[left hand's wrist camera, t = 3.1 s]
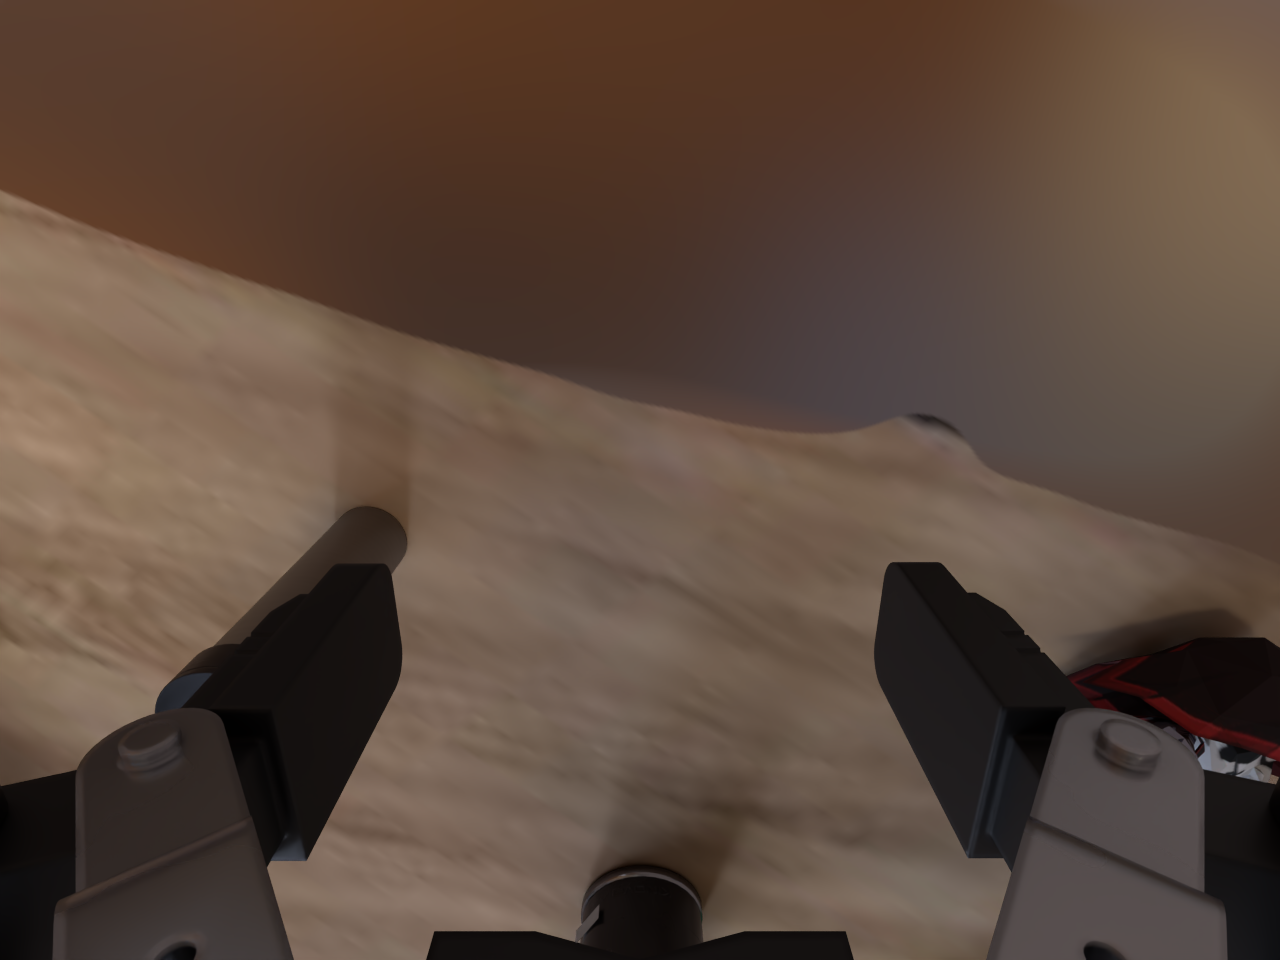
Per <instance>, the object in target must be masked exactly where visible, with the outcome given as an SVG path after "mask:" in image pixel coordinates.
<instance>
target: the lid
mask: <svg viewBox="0 0 1280 960" xmlns="http://www.w3.org/2000/svg"><path fill="white" fill-rule="evenodd" d="M239 645H240V644H222V645H217V646H214V647H211V648H208V649H206V650H204V651H202V652H201V653H199V654H198V655H197V656H196V657H195V658H193V659H192V660H191V661H190V662H189V663H188V664H187V665H186V666H185V667H184V668H183V669H182V670H181V671H180V672H179V673H178V674H177V675H176V676H175V677H174V678H173V679H172V680H171V681H170V682H169V683H168V684H167V685H166V686H165V687H164V689H163V690H162V691H161V693H160V695H159V697H158V699H157V702H156V706H155V713H159V712H163V711H167V710H172V709H180V708H181V707H182V706H183V705H184V704H185V703H186V702H187V701H188V700H189V698H190V697H191V696H192V695H193V694H194V693H195V692H196V691H197V690H198V689H199V688H200V687H201V686H202V684H203V683H204V682H205V681H206V680H207V679H208V678H209V677H210V676H211V675H212V674H213V673H214V672H215V671H216V669H217V668H218V667H219V666H220V665H221V664H222V663H223V662H224V661H225V660H226V659H227V658H228V657H229V655H230V654H234V653H235V649H236V648H237V647H238V646H239Z"/></svg>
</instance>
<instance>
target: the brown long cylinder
mask: <svg viewBox="0 0 1280 960" xmlns="http://www.w3.org/2000/svg"><path fill="white" fill-rule="evenodd" d="M406 548H407V539H406V535H405V532H404V530H403V528H402V526H401V525H400V523H399V522H398V521H397V520H396V519H395V518H394V517H393V516H391V515H390V514H389V513H387V512H385V511H383V510H380V509H377V508H372V507H359V508H355V509H352V510H350V511H348V512H346V513H345V514H344V515H343V516H342V517H341V518H340V519H339V520H338V521H337V522H336V523H335V524H334V525H333V526H332V527H331V528H330V529H329V530H328V531H327V532H326V533H325V534H324V535H323V536H322V537H321V538H320V539H319V540H318V541H317V542H316V543H315V544H314V545H313V546H312V547H311V548H310V549H309V550H308V551H307V552H306V553H305V554H304V555H303V556H302V557H301V558H300V559H299V560H298V561H297V562H296V563H295V564H294V565H293V566H292V567H291V568H290V569H289V570H288V571H287V572H286V573H285V574H284V575H283V576H282V577H281V578H280V579H279V580H278V581H277V582H276V583H275V584H274V585H273V586H272V587H271V589H270V590H269V591H268V592H267V593H266V594H265V595H264V596H263V597H262V598H261V599H260V600H259V601H258V602H257V603H256V604H255V605H254V606H253V607H252V608H251V609H250V610H249V611H248V612H247V613H246V614H245V615H244V616H243V617H242V618H241V619H240V620H239V621H238V622H237V623H236V624H235V625H234V626H233V627H232V628H231V629H230V630H229V631H228V632H227V633H226V634H225V635H224V636H223V637H222V638H221V639H220V640H219V641H218V642H217V643H216V644H215V645H214V646H217V645H222V644H241V643H242V641H243V640H244V639H245V638H246V637H250V636H251V632H252V631H253V630H254V629H255V627H256V626H257V625H258V624H259V623H260V622H261V621H262V620H263V619H264V618H265V617H266V616H267V615H268V614H269V612H270V611H272V610H274V609H276V608H277V607H279V606H281V605H282V604H284V603H286V602H287V601H289V600H291V599H292V598H294V597H296V596H297V595H299V594H309V593H310V591H311V590H312V589H313V588H314V587H315V586H316V585H317V583H318V582H319V581H320V580H321V579H322V578H323V577H324V575H325V574H326V573H327V572H328V571H329V570H330V569H331V567H332V566H334V565H335V564H338V563H384V564H386V565H387V566H388V568H389V570H390V572H391V575H392V573H393V572H394V570H395V569H396V567H397V566H398V564H399V563H400V562H401V560H402V559H403V557H404V555H405V552H406ZM214 646H213V647H214Z"/></svg>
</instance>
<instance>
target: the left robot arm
mask: <svg viewBox="0 0 1280 960" xmlns="http://www.w3.org/2000/svg"><path fill="white" fill-rule="evenodd" d="M874 661H875V669H876V674H877V678H878V681H879V684H880V686H881V688H882V690H883V692H884V694H885V696H886V698H887V700H888V702H889V704H890V706H891V708H892V710H893V712H894V714H895V716H896V718H897V720H898V722H899V723H900V725H901V727H902V729H903V731H904V733H905V735H906V737H907V739H908V741H909V743H910V745H911V747H912V749H913V751H914V753H915V755H916V757H917V759H918V761H919V763H920V765H921V767H922V769H923V771H924V773H925V775H926V776H927V778H928V780H929V782H930V784H931V786H932V788H933V790H934V792H935V794H936V796H937V798H938V800H939V802H940V804H941V806H942V808H943V810H944V812H945V814H946V816H947V818H948V820H949V822H950V824H951V826H952V828H953V829H954V831H955V833H956V835H957V837H958V839H959V841H960V843H961V845H962V847H963V849H964V851H965V853H966V855H967V857H968V858H1004V860H1005V862H1006V863H1007V865H1008V867H1009V869H1010V870H1011V872H1012V873H1011V877H1010V880H1009V884H1008V887H1007V891H1006V894H1005V897H1004V901H1003V904H1002V908H1001V911H1000V914H999V918H998V921H997V925H996V928H995V931H994V935H993V938H992V942H991V945H990V948H989V952H988V955H987V959H986V960H1280V776H1279V779H1278V781H1277V783H1276V784H1271V783H1266V782H1261V781H1257V780H1252V779H1247V778H1243V777H1238V776H1233V775H1229V774H1224V773H1219V772H1215V771H1210V770H1205V769H1203V768H1202V766H1201V764H1200V762H1199V761H1198V759H1197V758H1196V757H1195V755H1194V754H1193V753H1192V752H1191V751H1190V750H1189V749H1188V748H1187V747H1186V746H1185V745H1184V744H1182V743H1181V742H1180V741H1179V740H1178V739H1176V738H1175V737H1173V736H1172V735H1170V734H1169V733H1167V732H1166V731H1164V730H1162V729H1160V728H1159V727H1157V726H1155V725H1153V724H1151V723H1149V722H1146V721H1144V720H1142V719H1139V718H1137V717H1134V716H1131V715H1128V714H1125V713H1121V712H1117V711H1113V710H1108V709H1100V708H1095V707H1094V706H1093V705H1092V704H1091V703H1090V702H1089V701H1088V700H1087V699H1086V697H1085V696H1084V695H1083V694H1082V693H1081V692H1080V691H1079V690H1078V689H1077V688H1076V687H1075V685H1074V684H1073V683H1072V682H1071V681H1070V680H1069V679H1068V678H1067V677H1066V676H1065V675H1064V674H1063V672H1062V671H1061V670H1060V669H1059V668H1058V667H1057V666H1056V665H1055V664H1054V663H1053V662H1052V661H1051V659H1050V658H1049V657H1048V656H1047V655H1046V654H1045V653H1041V652H1040V648H1039V646H1038V645H1037V644H1036V643H1035V642H1034V641H1033V640H1032V639H1031V638H1030V637H1029V636H1028V635H1024V630H1023V629H1022V628H1021V627H1020V626H1019V625H1018V624H1017V623H1016V621H1015V620H1014V619H1013V618H1012V617H1011V616H1010V615H1009V614H1008V613H1007V612H1006V611H1005V610H1004V609H1002V608H1000V607H999V606H997V605H995V604H994V603H992V602H990V601H989V600H987V599H985V598H984V597H982V596H980V595H979V594H977V593H967V592H966V591H965V590H964V588H963V587H962V586H961V585H960V584H959V583H958V582H957V580H956V579H955V578H954V577H953V576H952V575H951V573H950V572H949V571H948V570H947V569H946V568H945V566H944V565H942V564H941V563H939V562H892V563H890V564H889V565H888V567H887V569H886V572H885V576H884V582H883V589H882V596H881V603H880V610H879V617H878V624H877V631H876V638H875V646H874ZM401 666H402V644H401V637H400V630H399V623H398V616H397V609H396V602H395V595H394V588H393V581H392V576H391V572H390V570H389V568H388V566H387V565H386V564H384V563H338V564H335V565H334V566H332V567H331V569H330V570H329V571H328V572H327V573H326V574H325V575H324V577H323V578H322V579H321V580H320V581H319V582H318V583H317V585H316V586H315V587H314V588H313V589H312V590H311V591H310V593H309V594H299V595H297V596H296V597H294V598H292V599H291V600H289V601H287V602H286V603H284V604H282V605H281V606H279V607H277V608H276V609H274V610H272V611H270V612H269V614H268V615H267V616H266V617H265V618H264V619H263V620H262V621H261V622H260V623H259V624H258V625H257V626H256V627H255V629H254V630H253V631H252V632H251V636H250V637H246V638H245V639H244V640H243V641H242V643H241V644H240V645H239V646H238V647H237V648H236V649H235V653H234V654H230V655H229V657H228V658H227V659H226V660H225V661H224V662H223V663H222V664H221V665H220V666H219V667H218V668H217V669H216V671H215V672H214V673H213V674H212V675H211V676H210V677H209V678H208V679H207V680H206V681H205V682H204V683H203V684H202V686H201V687H200V688H199V689H198V690H197V691H196V692H195V693H194V694H193V695H192V696H191V697H190V698H189V700H188V701H187V702H186V703H185V704H184V705H183V706H182V707H181V708H180V709H172V710H167V711H163V712H159V713H155V714H152V715H149V716H146V717H143V718H141V719H138V720H136V721H134V722H131V723H129V724H127V725H125V726H123V727H121V728H120V729H118V730H116V731H114V732H113V733H111V734H110V735H108V736H107V737H105V738H104V739H102V740H101V741H100V742H99V743H98V744H96V745H95V746H94V747H93V748H92V749H91V750H90V751H89V752H88V753H87V754H86V755H85V757H84V758H83V759H82V761H81V762H80V764H79V766H78V768H77V770H74V771H70V772H66V773H61V774H56V775H52V776H47V777H42V778H38V779H33V780H28V781H24V782H19V783H14V784H10V785H5V786H0V960H294V959H293V955H292V952H291V948H290V945H289V942H288V938H287V935H286V931H285V928H284V925H283V921H282V918H281V914H280V911H279V908H278V904H277V901H276V897H275V894H274V891H273V887H272V884H271V880H270V877H269V873H268V870H267V866H268V865H269V863H270V861H307V859H308V857H309V855H310V853H311V851H312V849H313V847H314V845H315V843H316V841H317V839H318V838H319V836H320V834H321V832H322V830H323V828H324V826H325V824H326V822H327V820H328V818H329V816H330V814H331V812H332V810H333V808H334V806H335V805H336V803H337V801H338V799H339V797H340V795H341V793H342V791H343V789H344V787H345V785H346V783H347V781H348V779H349V777H350V775H351V774H352V772H353V770H354V768H355V766H356V764H357V762H358V760H359V758H360V756H361V754H362V752H363V750H364V748H365V746H366V744H367V743H368V741H369V739H370V737H371V735H372V733H373V731H374V729H375V727H376V725H377V723H378V721H379V719H380V717H381V715H382V713H383V711H384V710H385V708H386V706H387V704H388V702H389V700H390V698H391V696H392V694H393V692H394V690H395V688H396V686H397V683H398V681H399V677H400V672H401ZM581 923H582V925H581V926H580V927H579V928H578V929H577V931H576V940H575V942H573V941H569V940H566V939H562V938H558V937H555V936H551V935H547V934H543V933H540V932H536V931H434V935H433V938H432V942H431V945H430V949H429V952H428V955H427V959H426V960H854V959H853V955H852V952H851V949H850V945H849V942H848V938H847V935H846V931H744V932H740V933H737V934H733V935H729V936H725V937H722V938H718V939H714V940H711V941H707V942H703V933H702V906H701V901H700V897H699V895H698V893H697V891H696V890H695V888H694V887H693V886H692V885H691V884H690V883H689V882H688V881H687V880H686V879H684V878H683V877H681V876H680V875H678V874H676V873H674V872H671V871H669V870H666V869H662V868H658V867H651V866H632V867H626V868H621V869H618V870H615V871H612V872H610V873H608V874H606V875H604V876H602V877H601V878H599V879H598V880H597V881H596V882H594V883H593V884H592V885H591V887H590V888H589V889H588V891H587V892H586V894H585V896H584V899H583V903H582V912H581ZM580 939H581V940H580ZM579 940H580V943H577V942H578V941H579Z"/></svg>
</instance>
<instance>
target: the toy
mask: <svg viewBox="0 0 1280 960" xmlns="http://www.w3.org/2000/svg"><path fill="white" fill-rule="evenodd" d="M1066 677H1067V678H1068V679H1069V680H1070V681H1071V682H1072V683H1073V684H1074V685H1075V687H1076V688H1077V689H1078V690H1079V691H1080V692H1081V693H1082V694H1083V695H1084V696H1085V697H1086V699H1087V700H1088V701H1089V702H1090V703H1091V704H1092V705H1093V706H1094V707H1095V708H1100V709H1108V710H1113V711H1117V712H1121V713H1125V714H1128V715H1131V716H1134V717H1137V718H1139V719H1142V720H1144V721H1146V722H1149V723H1151V724H1153V725H1155V726H1157V727H1159V728H1160V729H1162V730H1164V731H1166V732H1167V733H1169V734H1170V735H1172V736H1173V737H1175V738H1176V739H1178V740H1179V741H1180V742H1181V743H1182V744H1184V745H1185V746H1186V747H1187V748H1188V749H1189V750H1190V751H1191V752H1192V753H1193V754H1194V755H1195V757H1196V758H1197V759H1198V761H1199V762H1200V764H1201V766H1202V768H1203V769H1205V770H1210V771H1215V772H1219V773H1224V774H1229V775H1233V776H1238V777H1243V778H1247V779H1252V780H1257V781H1261V782H1266V783H1268V781H1269V780H1270V775H1271V774H1272V775H1275V776H1278V777H1279V776H1280V648H1279V647H1278V646H1276V645H1275V644H1273V643H1272V642H1270V641H1269V640H1267V639H1266V638H1198V639H1195V640H1192V641H1189V642H1186V643H1183V644H1180V645H1177V646H1174V647H1172V648H1169V649H1166V650H1163V651H1160V652H1157V653H1154V654H1151V655H1145V656H1139V657H1134V658H1128V659H1122V660H1116V661H1111V662H1105V663H1099V664H1095V665H1093V666H1090V667H1088V668H1085V669H1083V670H1080V671H1078V672H1076V673H1073V674H1071V675H1068V676H1066Z"/></svg>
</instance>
